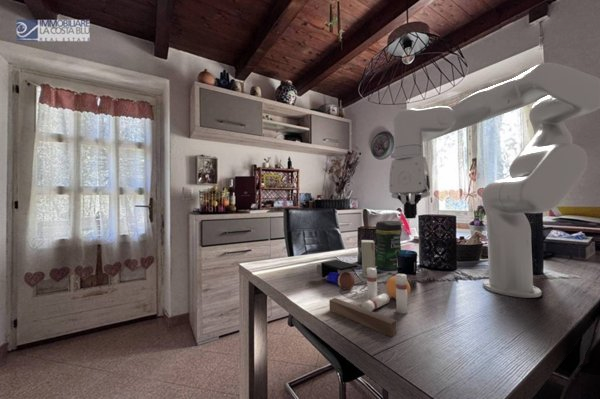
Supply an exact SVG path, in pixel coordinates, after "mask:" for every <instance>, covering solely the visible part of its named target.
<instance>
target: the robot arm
mask: <svg viewBox="0 0 600 399" xmlns="http://www.w3.org/2000/svg"><path fill="white" fill-rule="evenodd" d="M533 103H534V104H533ZM530 104H533V105H532V106H531V108H530V110H529V114H528V117H529V118H528V119H529V121H530V123H531V127H532V130H533V136H532V138H531V139H530V140H529V142H528V143H527V145H526V146H524V148H523V149H522V150H521V152H519V154H518V155H517V156H516V157H515V158H514V160H513V161H512V163H511V165H510V167H509V170H508V172H509V175H510V177H511V178H510V177H509V178H503V179H497V180H494V181H492V182H490V183H488V184H487V185H486V186H485V188H483V190H482V194H481V200H482V205H483V209H484V212H485V217H486V228H487V230H486V231H487V256H488V257H487V259H488V279H486V280H485V279H484V280H483V281H482V287H483V288H484V289H486V290H488V291H490V292H493V293H496V294H500V295H503V296H508V297H509V296H510V297H514V298H515V297H516V298H525V299H533V298H539V297H541V296H542V290H541V289H540V288H539V287H537V286H535V285H534V277H533V276H534V273H533V254H532V252H533V251H532V228H531V224H530V222H529V220H528V218H527V216H526V214H543V213H547V212H549V211H551V210H552V209H555V207H557V206H558V205H559V204H560V203H561V202H562V200H563V199H564V198H565V197H566V196H567V195H568V193H569V192H570V191H571V190H572V188H574V186H575V185H576V184H577V183H578V182H579V180H581V178H582V176H583V175H584V173H585V172H586V170H587V168H588V159H589V158H588V154H587V153H586V151H585V149H584V148H583V147H582V146H580V145H578V144H575V143H573V141H574V140H573V139H574V138H573V136H572V133H571V132H570V131H569V130H568V128H567V126H566V124H565V121H569V120H571V119H574V118H577V117H580V116H583V115H587V114H590V113H593V112H595V111H597V110H599V109H600V78H599V77H597V76H594V75H592V74H589V73H586V72H583V71H581V70H579V69H577V68H573V67H571V66H568V65H564V64H560V63H555V62H542V63H539V64H536V65H535V66H533V67H531V68H530V69H527V71H525V72H523V73H521V74H519V75H518V76H516V77H514V78H512V79H509V80H506V81H504V82H501V83H498V84H496V85H493V86H490V87H488V88H484V89H481V90H479V91H476V92H474V93H472V94H471V95H469V96H467V97H465V98H463V99H461V100H460V101H457V103H455V104H453V105H451V106H445V105H444V106H443V105H438V106H432V107H427V108H422V109H417V108H408V109H407V108H406V109H402V110H400V111H398V112H397V113H396V114H395V115H394V116H393V143H394V146H393V147H394V150H393V153H390V157H391V159H393V160H391V165H390V169H389V170H390V171H389V180H388V181H389V183H388V184H389V186H388V188H389V192H390V193H391V195H390V196H391V198H393V199H397V200H399V202H401V204H402V205H403V214H404V218H405V219H410V220H411V219H412V220H413V219H416V218H417V215H418V207H417V205H418V204H419V202H420V201H421V200H422V199H425V198H428V197H430V196H431V192H430V190H431V179H430V171H429V166H428V161H427V157H426V156H424V147H423V146H424V142H430V141H433V140H435V139H439V138H441V137H444V136H446V135H448V134H451V133H454V132H456V131H459V130H461V129H465V128H469V127H471V126H472V127H473V126H475V125H477V124H480V123H482V122H484V121H487V120H491V119H493V118H495V117H498V116H499V117H500V116H502V115H504V114H506V113H507V114H508V113H509V112H512V111H515V110H518V109H520V108H523V107H527V106H528V105H530Z"/></svg>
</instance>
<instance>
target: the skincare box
mask: <svg viewBox="0 0 600 399" xmlns="http://www.w3.org/2000/svg"><path fill="white" fill-rule="evenodd" d="M360 243H361V245H360V246H361V273H362V278H366V279H367V268H376V250H375V249H376V247H375V245H376V244H375V243H376V242H375V241H374V240H372V239H361V242H360Z"/></svg>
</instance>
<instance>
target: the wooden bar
mask: <svg viewBox="0 0 600 399" xmlns="http://www.w3.org/2000/svg"><path fill="white" fill-rule="evenodd" d="M328 305H329V311H330V312H333V313H335V314H337V315H340V316H341V317H344V318H346V319H349V320H352V321H354V322H356V323H358V324H360V325H363V326H365V327H367V328H369V329H372V330H375V331H376V332H379V333H382V334H383V335H387V336H389V337H391V338H392V337H393V336H395V335H396V334H397V320H396V319H393V318H391V317H388V316H386V315H384V314H380V313H377V312H375V311H373V310H372V311H369V310H367V309H364V308H361V306H359V305H355V304H353V303H350V302H348V301H344V300H342V299H339V298H336V297H333V298H331V299H329V304H328Z"/></svg>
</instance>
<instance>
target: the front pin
mask: <svg viewBox="0 0 600 399" xmlns="http://www.w3.org/2000/svg"><path fill="white" fill-rule="evenodd" d="M389 296H390V295H389V294H388V293H382V294H377V296H376V297H374V298H372V299H369V300H368V299H367V300H365V301H363V302H361V304H360V307H361V308H364V309H367V310H369V311H372V312H373V311H374V310H376V309H378V308H380V307H382V306H384V305H386V304H389V302H390V297H389Z"/></svg>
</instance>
